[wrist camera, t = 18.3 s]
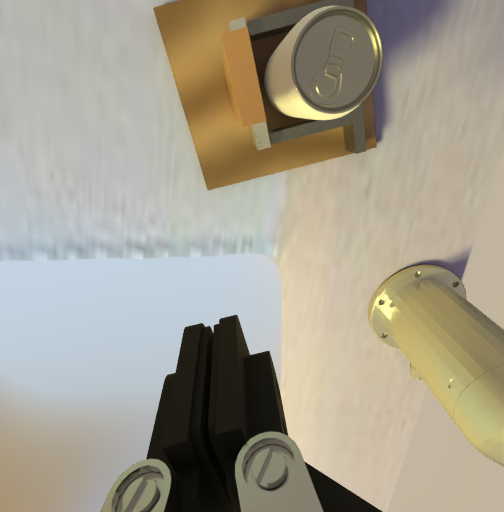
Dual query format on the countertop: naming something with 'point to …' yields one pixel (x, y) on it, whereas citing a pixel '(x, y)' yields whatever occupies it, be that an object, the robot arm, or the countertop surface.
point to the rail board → (218, 99)
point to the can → (325, 64)
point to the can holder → (350, 121)
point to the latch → (244, 82)
